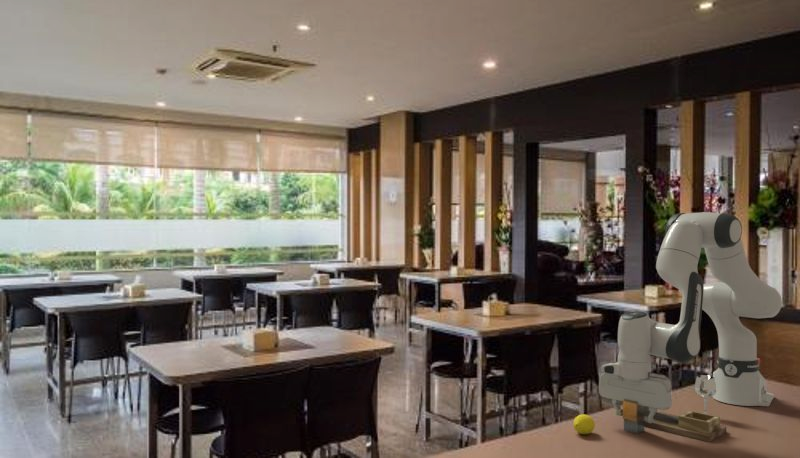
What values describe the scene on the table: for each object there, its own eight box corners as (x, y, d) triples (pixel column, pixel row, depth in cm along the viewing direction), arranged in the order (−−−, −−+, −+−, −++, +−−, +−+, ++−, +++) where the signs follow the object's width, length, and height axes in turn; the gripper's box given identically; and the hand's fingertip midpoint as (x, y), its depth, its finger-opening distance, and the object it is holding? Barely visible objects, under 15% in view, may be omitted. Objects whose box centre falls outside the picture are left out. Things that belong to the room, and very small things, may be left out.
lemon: (582, 431, 176) (583, 411, 177) (598, 436, 172) (600, 416, 172) (567, 432, 172) (568, 412, 172) (583, 437, 168) (585, 417, 168)
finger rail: (643, 413, 192) (643, 376, 192) (726, 432, 174) (726, 391, 174) (624, 421, 183) (624, 382, 183) (709, 441, 166) (709, 398, 166)
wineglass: (718, 419, 185) (718, 379, 185) (697, 418, 186) (697, 378, 186) (712, 414, 191) (713, 375, 191) (692, 413, 192) (692, 374, 192)
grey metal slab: (630, 427, 178) (630, 396, 178) (644, 430, 175) (644, 398, 175) (622, 430, 175) (622, 399, 175) (636, 434, 172) (636, 401, 172)
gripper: (676, 374, 169) (675, 425, 169) (607, 362, 185) (607, 408, 185) (665, 378, 165) (665, 430, 165) (596, 365, 180) (595, 413, 180)
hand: (634, 418), depth 175 cm, fingers open, 7 cm apart
